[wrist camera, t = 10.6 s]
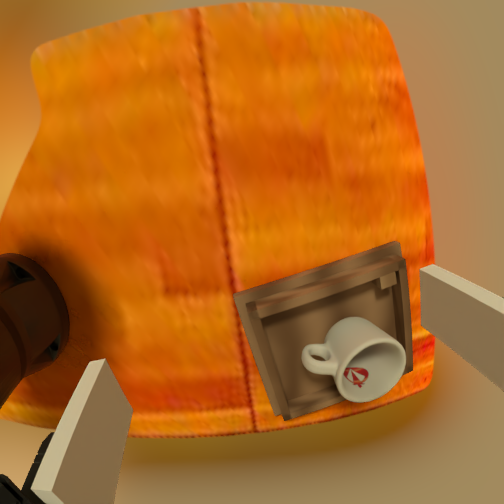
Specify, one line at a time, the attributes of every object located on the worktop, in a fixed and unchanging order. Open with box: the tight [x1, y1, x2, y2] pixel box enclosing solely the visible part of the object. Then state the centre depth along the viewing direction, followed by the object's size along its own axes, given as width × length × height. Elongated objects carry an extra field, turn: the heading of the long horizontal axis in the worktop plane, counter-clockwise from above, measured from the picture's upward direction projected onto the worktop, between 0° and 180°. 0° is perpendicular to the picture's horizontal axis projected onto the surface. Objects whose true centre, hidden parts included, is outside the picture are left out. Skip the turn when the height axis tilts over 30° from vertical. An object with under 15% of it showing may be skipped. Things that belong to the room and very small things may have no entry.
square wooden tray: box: [233, 241, 413, 421], centre depth 36 cm, size 20×18×4 cm
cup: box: [301, 317, 406, 403], centre depth 33 cm, size 11×8×8 cm
